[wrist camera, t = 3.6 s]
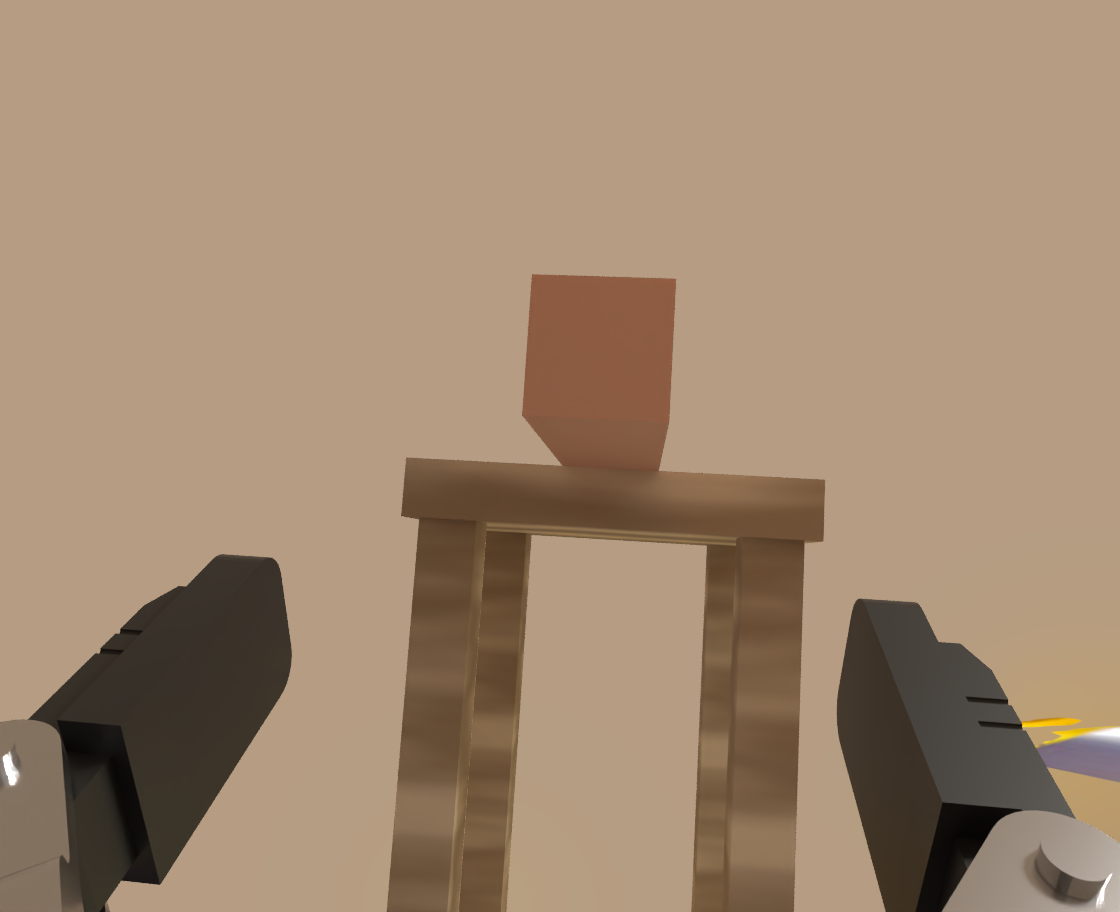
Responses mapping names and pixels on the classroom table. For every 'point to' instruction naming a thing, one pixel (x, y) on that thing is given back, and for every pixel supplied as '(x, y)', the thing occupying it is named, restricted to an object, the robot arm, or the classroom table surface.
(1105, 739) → the classroom table surface
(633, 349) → the brown rectangular block
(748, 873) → the tall stand
